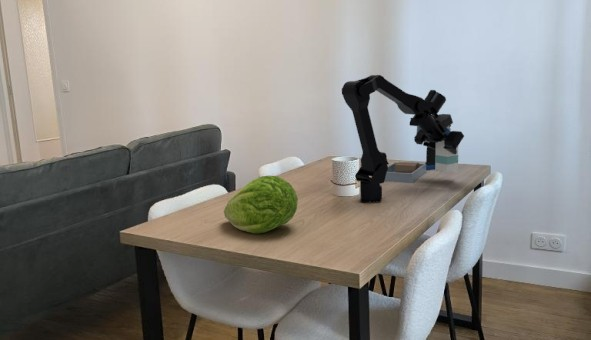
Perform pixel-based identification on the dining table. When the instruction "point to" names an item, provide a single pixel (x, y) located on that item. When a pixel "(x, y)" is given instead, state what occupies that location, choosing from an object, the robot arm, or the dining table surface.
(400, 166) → the walnut block
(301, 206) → the dining table surface
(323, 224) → the dining table surface
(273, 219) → the lettuce
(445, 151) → the carton
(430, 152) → the handheld scanner
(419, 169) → the tote
